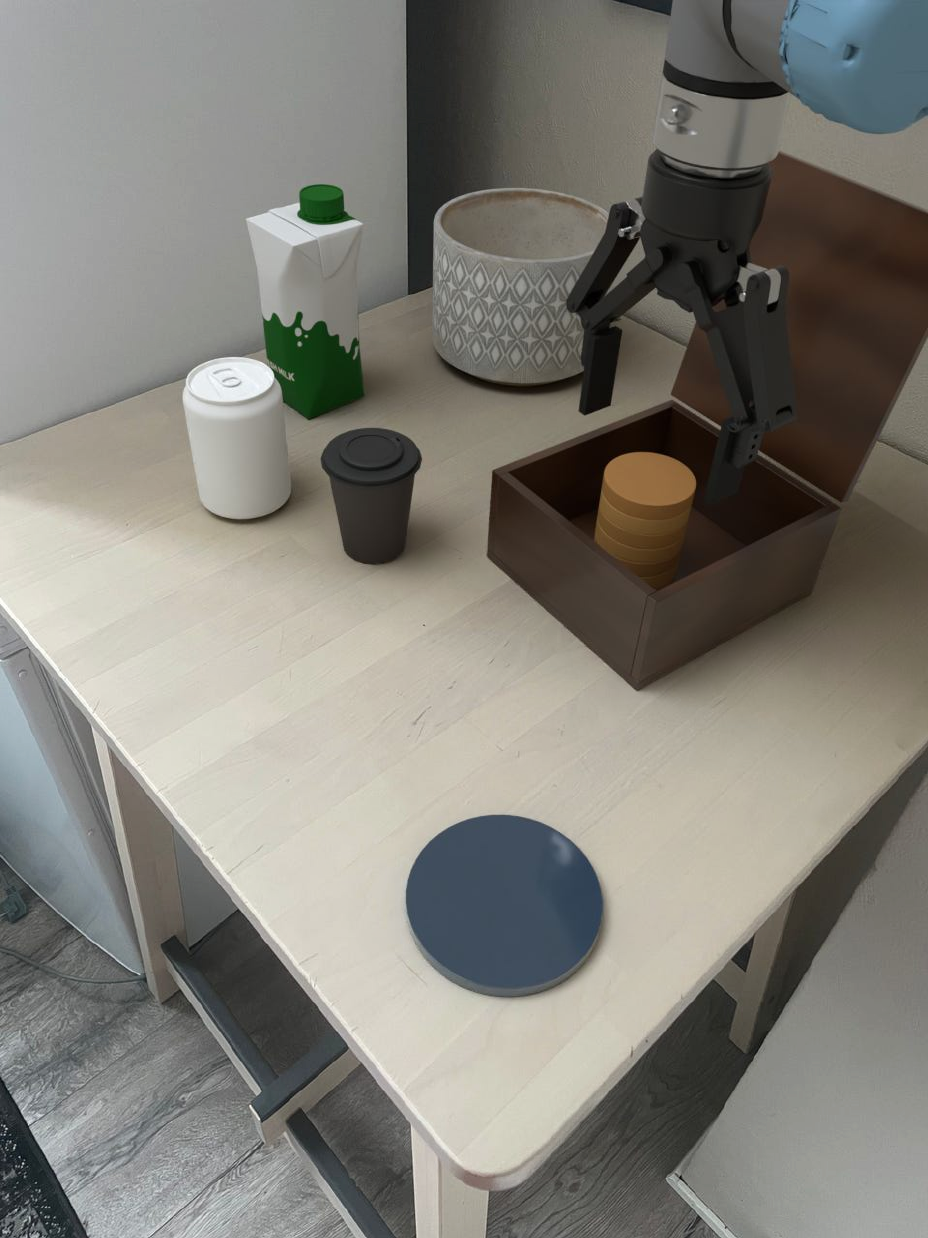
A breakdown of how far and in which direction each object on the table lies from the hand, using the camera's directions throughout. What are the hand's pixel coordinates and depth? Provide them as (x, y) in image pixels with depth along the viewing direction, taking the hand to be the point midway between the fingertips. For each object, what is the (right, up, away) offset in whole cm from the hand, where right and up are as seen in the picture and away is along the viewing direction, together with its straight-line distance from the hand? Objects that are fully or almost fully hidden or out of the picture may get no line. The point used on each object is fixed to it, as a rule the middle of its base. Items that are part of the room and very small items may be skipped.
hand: (654, 450), depth 77 cm
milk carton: (-29, +10, +29) cm, 43 cm away
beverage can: (-34, -2, +16) cm, 37 cm away
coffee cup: (-22, -6, +12) cm, 26 cm away
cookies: (0, -9, +8) cm, 12 cm away
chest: (+1, -9, +10) cm, 13 cm away
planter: (-8, +17, +37) cm, 41 cm away
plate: (-12, -30, -14) cm, 35 cm away
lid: (+11, +10, +2) cm, 15 cm away
